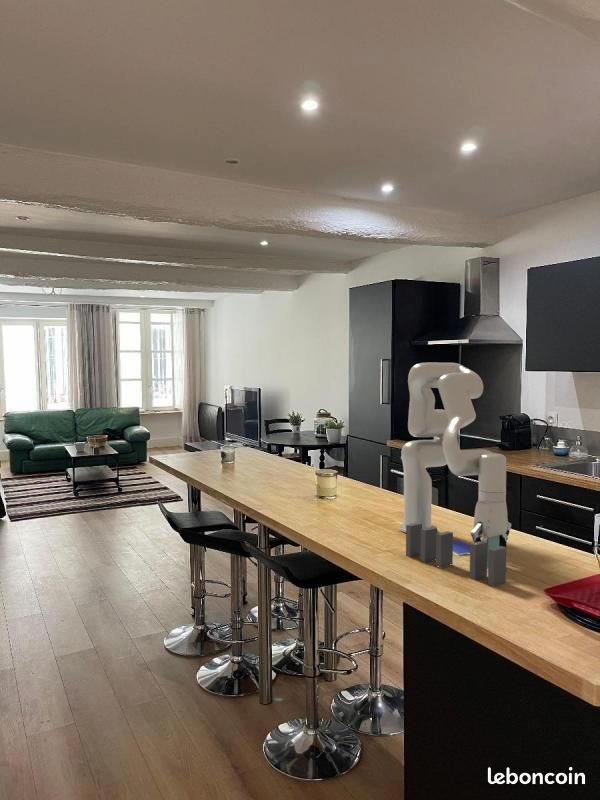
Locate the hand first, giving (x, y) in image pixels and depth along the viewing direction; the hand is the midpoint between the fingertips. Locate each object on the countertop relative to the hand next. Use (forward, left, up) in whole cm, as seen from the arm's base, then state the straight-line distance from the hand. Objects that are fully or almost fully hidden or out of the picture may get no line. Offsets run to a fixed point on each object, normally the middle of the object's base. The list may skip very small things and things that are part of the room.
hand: (491, 555), depth 175 cm
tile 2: (+4, -17, -3) cm, 18 cm away
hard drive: (-12, -12, -4) cm, 17 cm away
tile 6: (+15, +4, -3) cm, 16 cm away
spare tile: (0, 0, -3) cm, 3 cm away
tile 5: (+12, -1, -3) cm, 12 cm away
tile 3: (+7, -12, -3) cm, 14 cm away
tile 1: (+1, -23, -3) cm, 23 cm away
